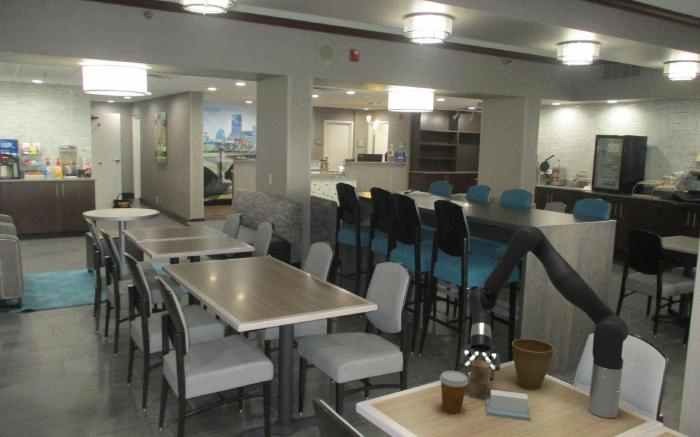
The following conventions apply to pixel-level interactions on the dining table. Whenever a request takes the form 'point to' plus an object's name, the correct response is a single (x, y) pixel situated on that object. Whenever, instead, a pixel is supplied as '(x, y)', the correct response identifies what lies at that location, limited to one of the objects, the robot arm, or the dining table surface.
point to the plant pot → (531, 361)
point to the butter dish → (508, 405)
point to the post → (479, 379)
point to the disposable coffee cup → (453, 390)
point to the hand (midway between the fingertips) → (479, 379)
